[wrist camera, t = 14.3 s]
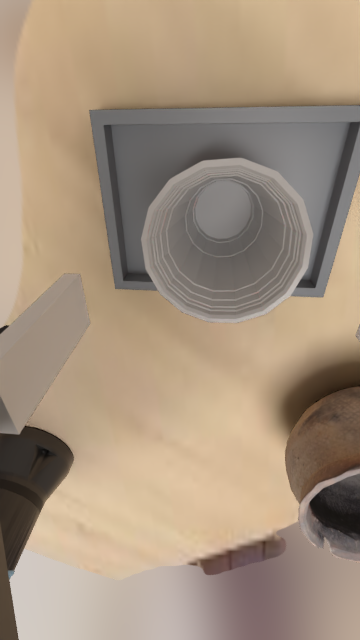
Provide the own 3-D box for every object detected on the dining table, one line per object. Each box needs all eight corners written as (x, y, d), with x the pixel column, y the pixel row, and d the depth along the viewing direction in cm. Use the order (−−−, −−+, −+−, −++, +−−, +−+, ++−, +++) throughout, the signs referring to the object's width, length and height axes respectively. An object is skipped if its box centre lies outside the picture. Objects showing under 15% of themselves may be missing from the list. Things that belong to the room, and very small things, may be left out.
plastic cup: (170, 138, 26) (141, 144, 16) (294, 154, 25) (344, 172, 15) (161, 255, 32) (135, 314, 22) (261, 270, 31) (281, 336, 21)
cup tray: (122, 277, 35) (115, 288, 32) (101, 111, 26) (89, 109, 23) (314, 284, 33) (323, 297, 30) (362, 107, 24) (379, 104, 21)
